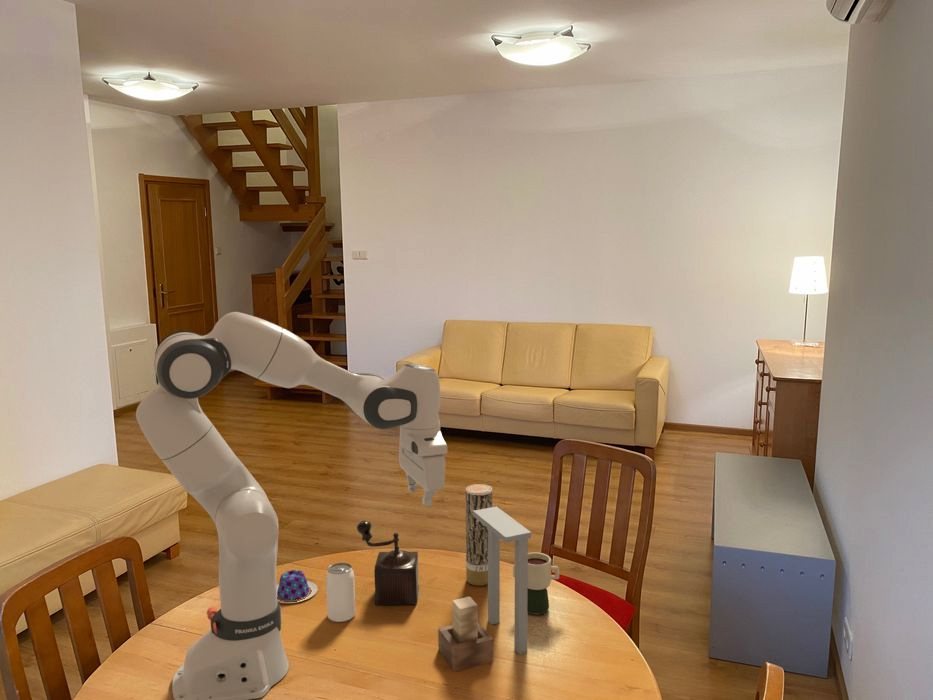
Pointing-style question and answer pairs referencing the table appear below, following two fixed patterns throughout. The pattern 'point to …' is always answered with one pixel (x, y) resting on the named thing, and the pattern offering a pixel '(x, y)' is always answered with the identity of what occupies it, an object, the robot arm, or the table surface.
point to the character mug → (539, 581)
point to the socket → (465, 649)
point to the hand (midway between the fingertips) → (419, 498)
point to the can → (340, 592)
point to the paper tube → (477, 534)
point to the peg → (465, 620)
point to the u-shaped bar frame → (508, 532)
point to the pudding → (294, 586)
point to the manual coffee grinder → (393, 572)
